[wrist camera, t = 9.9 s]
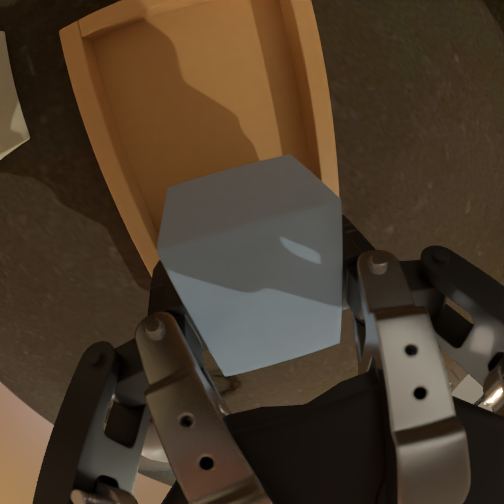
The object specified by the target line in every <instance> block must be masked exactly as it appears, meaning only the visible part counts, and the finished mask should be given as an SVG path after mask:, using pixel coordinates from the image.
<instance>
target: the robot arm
mask: <svg viewBox="0 0 504 504" xmlns="http://www.w3.org/2000/svg"><path fill="white" fill-rule="evenodd" d="M342 236H343V281H342V310H345V309H348V308H350V309H351V310H352V312H353V328H354V335H355V343H356V351H357V359H358V376H355V377H353V378H350V379H348V380H345V381H342V382H340V383H339V384H337V385H336V386H334V387H332V388H331V389H329V390H328V391H326V392H325V393H323V394H322V395H320V396H318V397H317V398H315V399H314V400H312V401H310V402H309V403H307V404H304V405H293V406H274V407H260V408H256V409H252V410H247V411H243V412H239V413H234V414H232V412H231V411H230V410H229V408H228V406H227V405H226V403H225V401H224V400H223V398H222V396H221V394H220V393H219V391H218V389H217V387H216V385H215V384H214V382H213V380H212V378H211V376H210V374H209V372H208V371H207V369H206V367H205V365H204V364H203V359H202V351H205V350H209V349H208V348H207V346H206V344H205V342H204V341H203V339H202V337H201V335H200V334H199V332H198V330H197V328H196V327H195V325H194V323H193V321H192V319H191V318H190V316H189V314H188V312H187V310H186V309H185V307H184V305H183V303H182V301H181V299H180V297H179V295H178V294H177V292H176V290H175V288H174V286H173V284H172V282H171V280H170V278H169V276H168V274H167V272H166V270H165V268H164V266H163V264H162V262H161V260H159V261H158V263H157V264H156V266H155V268H154V269H153V274H152V282H151V290H150V298H149V307H148V316H147V317H145V318H144V319H143V320H142V321H141V322H140V323H139V324H138V326H137V328H136V331H135V338H134V339H132V340H130V341H129V342H127V343H125V344H123V345H121V346H119V347H117V348H114V347H113V346H112V345H111V344H110V343H108V342H105V341H101V342H97V343H94V344H93V345H91V346H90V347H89V348H87V350H86V351H85V352H84V354H83V355H82V357H81V359H80V362H79V364H78V366H77V369H76V371H75V373H74V375H73V378H72V380H71V383H70V385H69V387H68V390H67V392H66V395H65V397H64V400H63V403H62V405H61V408H60V411H59V413H58V416H57V419H56V422H55V424H54V427H53V431H52V434H51V436H50V440H49V442H48V446H47V449H46V452H45V456H44V459H43V463H42V466H41V470H40V474H39V477H38V481H37V486H36V490H35V495H34V499H33V504H138V502H137V500H136V499H135V497H134V496H133V495H132V494H133V489H134V485H135V480H136V476H137V471H138V467H139V462H140V458H141V454H142V450H143V446H144V442H145V438H146V434H147V430H148V426H149V422H150V418H152V421H153V424H154V426H155V429H156V432H157V434H158V437H159V439H160V442H161V445H162V447H163V449H164V452H165V454H166V457H167V459H168V461H169V464H170V466H171V468H172V470H173V473H174V475H175V477H176V479H177V480H176V481H175V483H174V485H173V486H172V488H171V489H170V491H169V492H168V494H167V496H166V497H165V499H164V500H163V502H162V503H161V504H504V286H503V285H501V284H500V283H499V282H497V281H496V280H495V279H493V278H492V277H490V276H489V275H487V274H486V273H485V272H483V271H482V270H480V269H479V268H477V267H476V266H474V265H473V264H471V263H470V262H468V261H467V260H465V259H464V258H462V257H461V256H459V255H457V254H456V253H454V252H453V251H451V250H449V249H448V248H445V247H442V246H429V247H427V248H425V249H424V250H423V251H422V254H421V258H420V260H412V261H398V259H397V258H396V257H395V256H394V255H393V254H391V253H389V252H387V251H383V250H375V248H374V247H373V246H372V245H371V244H370V243H369V242H368V241H367V239H366V238H365V237H364V236H363V235H362V234H361V233H360V232H359V231H358V230H357V228H356V227H355V226H354V225H353V224H351V222H350V221H349V220H348V219H347V218H346V217H345V216H344V215H342ZM448 297H449V298H450V299H451V300H453V301H454V302H455V303H457V304H458V305H459V306H460V307H462V308H463V309H464V310H466V311H467V312H468V313H469V314H470V315H471V316H472V318H473V321H474V324H471V323H470V322H469V321H467V320H466V319H465V318H464V317H462V316H461V315H460V314H459V313H457V312H456V311H455V310H453V309H452V308H451V307H450V306H448V305H447V304H446V301H447V298H448ZM440 349H442V350H443V351H444V352H445V353H446V354H447V355H448V356H450V357H451V358H452V359H453V360H454V361H455V362H456V363H457V364H459V365H460V366H461V367H462V368H463V369H464V370H465V371H466V372H467V373H468V374H470V375H471V376H472V377H473V378H474V379H475V380H476V381H477V382H478V383H479V384H480V385H481V386H482V387H483V392H484V394H483V396H482V402H483V404H484V405H486V406H491V408H492V410H493V412H491V411H488V410H486V409H483V408H481V407H478V406H476V405H473V404H471V403H468V402H466V401H464V400H461V399H459V398H456V397H454V396H452V393H451V389H450V384H449V380H448V376H447V372H446V369H445V365H444V361H443V358H442V354H441V351H440ZM112 399H113V400H114V403H113V406H112V409H111V412H110V415H109V419H108V422H107V425H106V428H105V432H104V430H103V425H104V421H105V418H106V415H107V412H108V409H109V406H110V403H111V400H112Z"/></svg>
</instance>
